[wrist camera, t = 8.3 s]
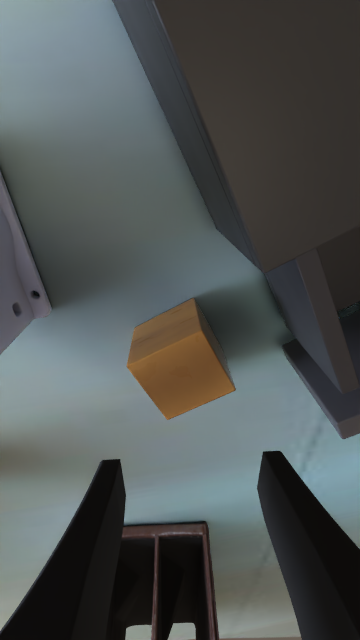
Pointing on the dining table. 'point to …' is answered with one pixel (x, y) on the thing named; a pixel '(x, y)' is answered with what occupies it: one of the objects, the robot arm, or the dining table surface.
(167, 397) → the block
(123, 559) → the letter holder
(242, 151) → the black drawer cabinet
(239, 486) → the dining table surface
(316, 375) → the dark grey drawer
